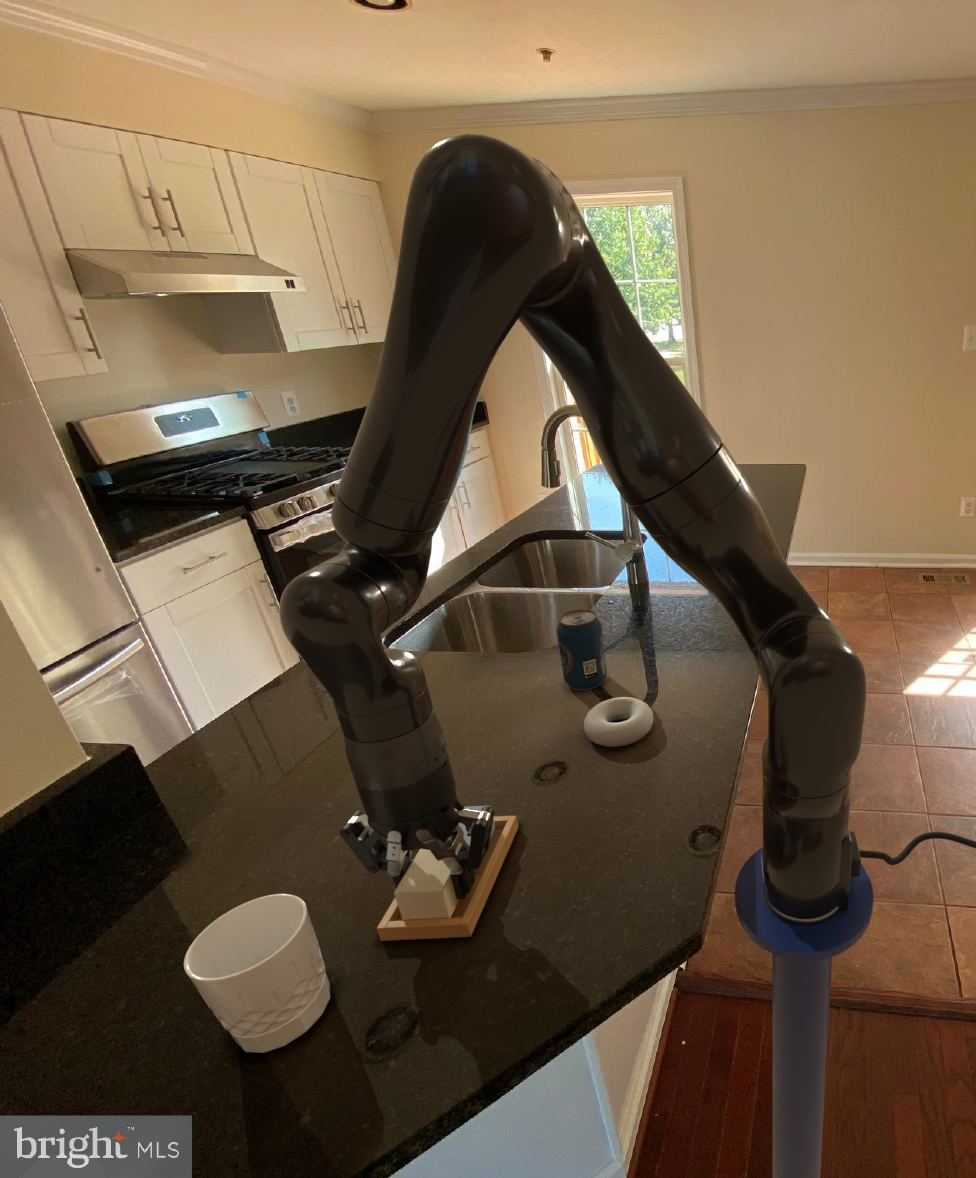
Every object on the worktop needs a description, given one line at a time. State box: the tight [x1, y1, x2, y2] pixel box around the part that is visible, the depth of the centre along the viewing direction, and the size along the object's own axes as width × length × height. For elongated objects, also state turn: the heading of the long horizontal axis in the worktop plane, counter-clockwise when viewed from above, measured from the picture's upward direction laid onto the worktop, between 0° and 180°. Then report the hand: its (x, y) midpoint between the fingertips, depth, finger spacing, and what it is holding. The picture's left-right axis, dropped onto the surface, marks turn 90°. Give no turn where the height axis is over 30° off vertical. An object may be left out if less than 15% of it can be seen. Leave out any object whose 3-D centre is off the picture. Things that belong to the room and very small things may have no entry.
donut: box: [583, 696, 654, 748], centre depth 93 cm, size 10×4×10 cm
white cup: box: [183, 893, 331, 1054], centre depth 54 cm, size 8×8×10 cm
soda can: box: [556, 609, 608, 691], centre depth 103 cm, size 7×7×12 cm
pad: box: [393, 849, 459, 920], centre depth 64 cm, size 4×6×4 cm
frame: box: [376, 815, 519, 942], centre depth 68 cm, size 9×15×2 cm, turn 3°
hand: (439, 892), depth 65 cm, fingers closed on pad, 4 cm apart
